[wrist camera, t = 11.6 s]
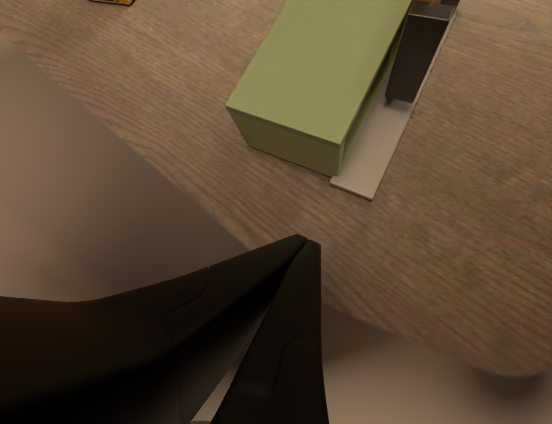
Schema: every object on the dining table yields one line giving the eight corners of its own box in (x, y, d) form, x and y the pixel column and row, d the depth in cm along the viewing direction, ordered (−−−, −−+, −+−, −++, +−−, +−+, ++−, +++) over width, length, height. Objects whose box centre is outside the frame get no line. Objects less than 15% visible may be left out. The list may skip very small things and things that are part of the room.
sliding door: (408, 113, 19) (459, -1, 11) (381, 105, 20) (413, -8, 12) (450, 20, 20) (520, -136, 13) (424, 16, 21) (476, -136, 14)
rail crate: (371, 201, 18) (386, 171, 14) (244, 151, 22) (219, 112, 17) (457, 12, 21) (494, -68, 16) (333, -7, 24) (334, -79, 20)
